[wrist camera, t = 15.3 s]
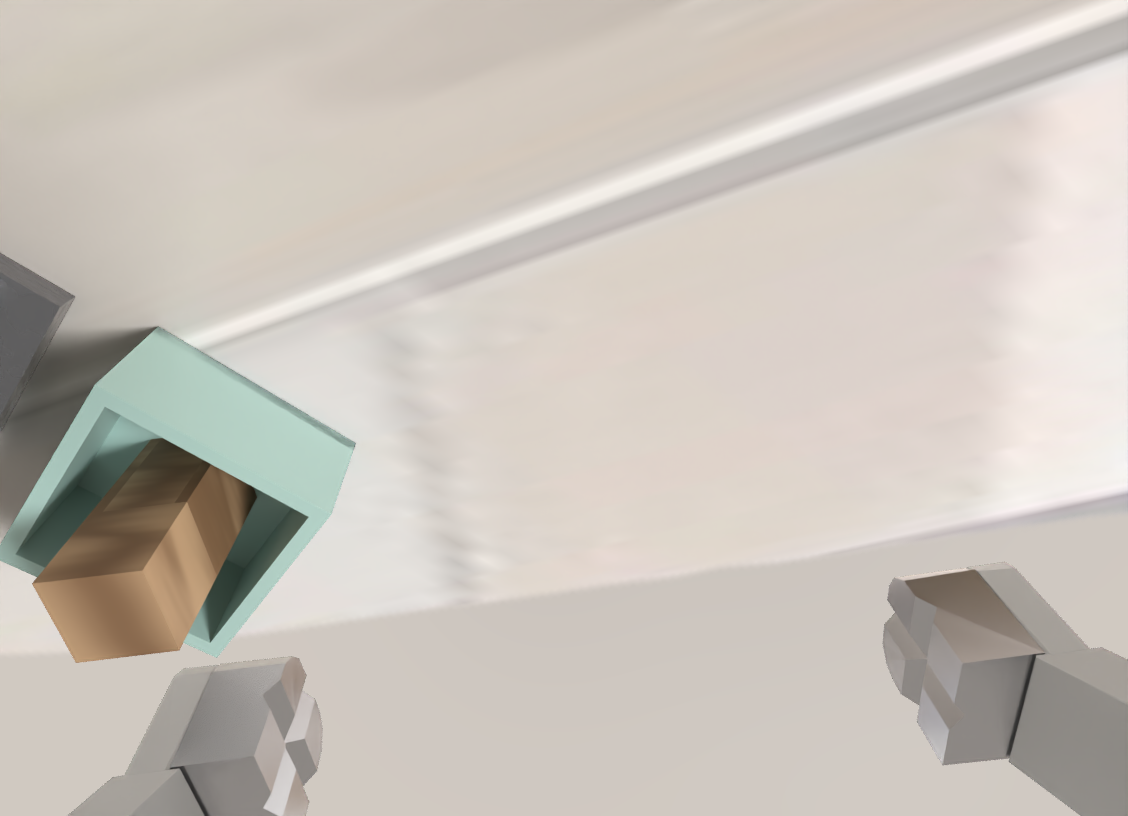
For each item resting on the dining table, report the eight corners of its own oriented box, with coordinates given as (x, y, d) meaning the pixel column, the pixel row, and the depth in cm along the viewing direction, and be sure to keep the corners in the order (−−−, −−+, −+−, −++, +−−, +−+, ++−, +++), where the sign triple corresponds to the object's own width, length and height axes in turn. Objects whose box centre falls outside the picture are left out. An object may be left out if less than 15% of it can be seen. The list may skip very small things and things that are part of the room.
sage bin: (64, 479, 44) (-8, 557, 38) (158, 326, 40) (94, 384, 34) (254, 574, 48) (217, 657, 42) (355, 443, 44) (331, 514, 38)
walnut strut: (178, 506, 44) (76, 662, 34) (151, 439, 42) (31, 583, 32) (257, 497, 44) (179, 650, 34) (233, 429, 42) (142, 570, 32)
